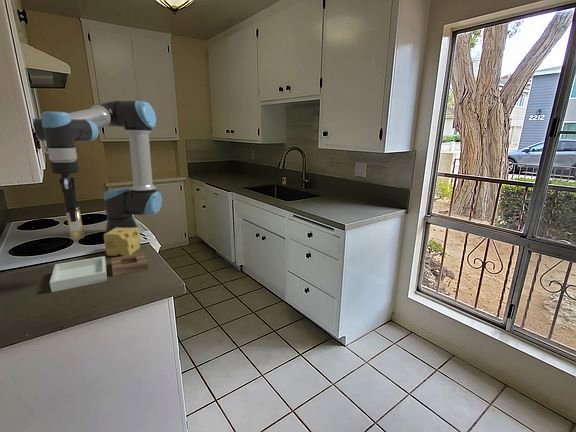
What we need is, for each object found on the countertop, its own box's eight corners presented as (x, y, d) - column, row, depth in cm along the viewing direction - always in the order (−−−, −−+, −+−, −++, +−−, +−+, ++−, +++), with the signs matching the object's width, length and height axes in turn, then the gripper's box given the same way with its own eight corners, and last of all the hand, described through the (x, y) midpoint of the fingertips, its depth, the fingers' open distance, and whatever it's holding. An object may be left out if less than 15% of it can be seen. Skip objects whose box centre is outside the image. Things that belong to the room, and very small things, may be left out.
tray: (57, 272, 115) (55, 264, 114) (106, 264, 123) (104, 256, 122) (51, 292, 102) (49, 282, 101) (107, 281, 109) (105, 272, 108)
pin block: (111, 264, 123) (111, 258, 122) (144, 258, 129) (143, 252, 128) (113, 276, 113) (112, 270, 112) (148, 269, 119) (147, 263, 118)
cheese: (129, 256, 130) (126, 234, 127) (104, 256, 130) (101, 234, 127) (141, 247, 140) (139, 227, 137) (118, 247, 140) (115, 226, 138)
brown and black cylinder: (71, 236, 109) (65, 207, 106) (84, 235, 111) (79, 205, 108) (70, 240, 106) (64, 209, 103) (84, 238, 108) (79, 208, 105)
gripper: (52, 158, 106) (64, 223, 112) (46, 164, 92) (60, 237, 98) (78, 158, 110) (88, 220, 116) (76, 163, 96) (88, 233, 102)
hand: (75, 227), depth 107 cm, fingers closed on brown and black cylinder, 4 cm apart
